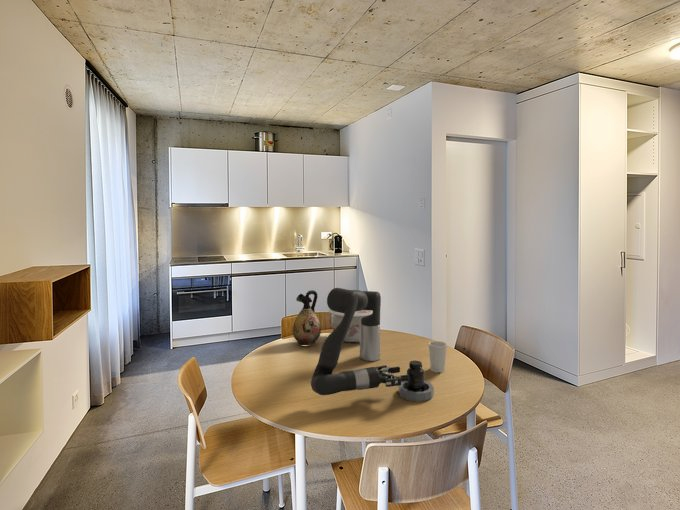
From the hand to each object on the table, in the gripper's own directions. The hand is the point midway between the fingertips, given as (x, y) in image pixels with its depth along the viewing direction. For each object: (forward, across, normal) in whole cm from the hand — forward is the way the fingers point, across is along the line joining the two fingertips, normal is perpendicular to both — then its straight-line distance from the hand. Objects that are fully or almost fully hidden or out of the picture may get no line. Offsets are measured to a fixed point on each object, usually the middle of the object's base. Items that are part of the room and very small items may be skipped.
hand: (404, 373), depth 151 cm
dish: (+5, 0, +9) cm, 10 cm away
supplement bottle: (+5, 0, +8) cm, 10 cm away
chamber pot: (+4, +75, +9) cm, 76 cm away
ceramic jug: (-22, +75, +9) cm, 78 cm away
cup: (+26, +19, +9) cm, 33 cm away
